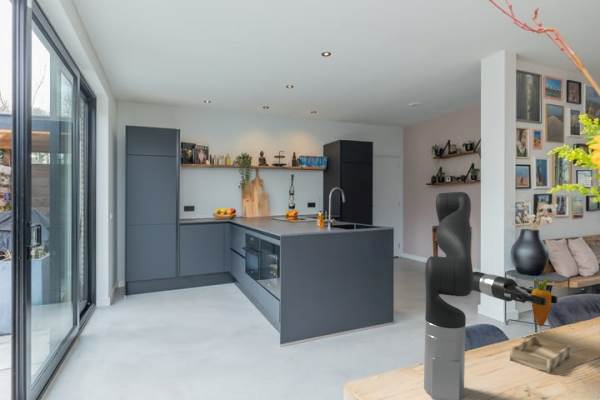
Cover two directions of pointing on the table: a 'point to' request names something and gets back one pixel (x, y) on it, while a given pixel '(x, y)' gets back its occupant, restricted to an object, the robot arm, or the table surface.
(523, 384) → the table surface
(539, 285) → the carrot
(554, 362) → the oak tray
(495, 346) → the table surface
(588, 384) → the table surface
